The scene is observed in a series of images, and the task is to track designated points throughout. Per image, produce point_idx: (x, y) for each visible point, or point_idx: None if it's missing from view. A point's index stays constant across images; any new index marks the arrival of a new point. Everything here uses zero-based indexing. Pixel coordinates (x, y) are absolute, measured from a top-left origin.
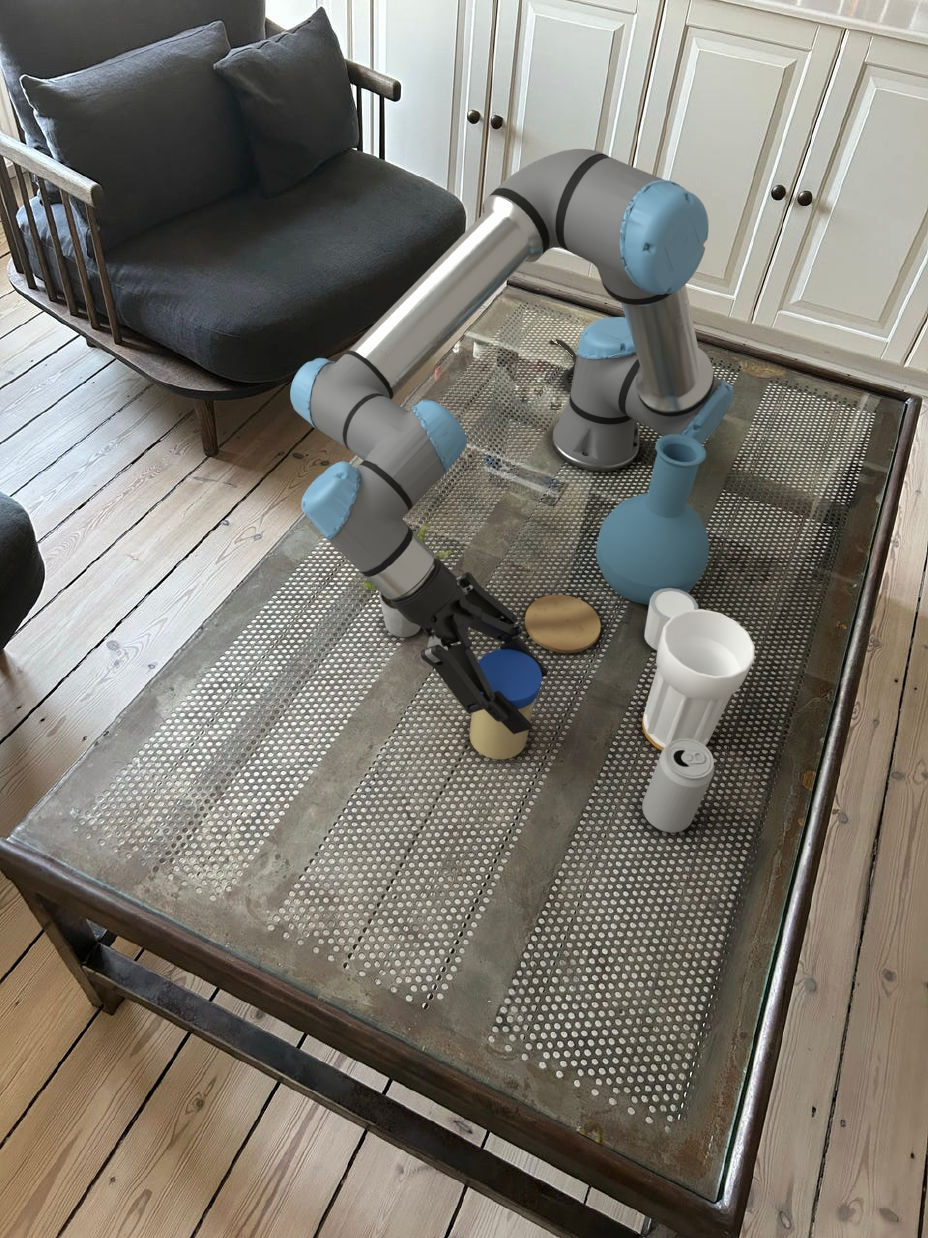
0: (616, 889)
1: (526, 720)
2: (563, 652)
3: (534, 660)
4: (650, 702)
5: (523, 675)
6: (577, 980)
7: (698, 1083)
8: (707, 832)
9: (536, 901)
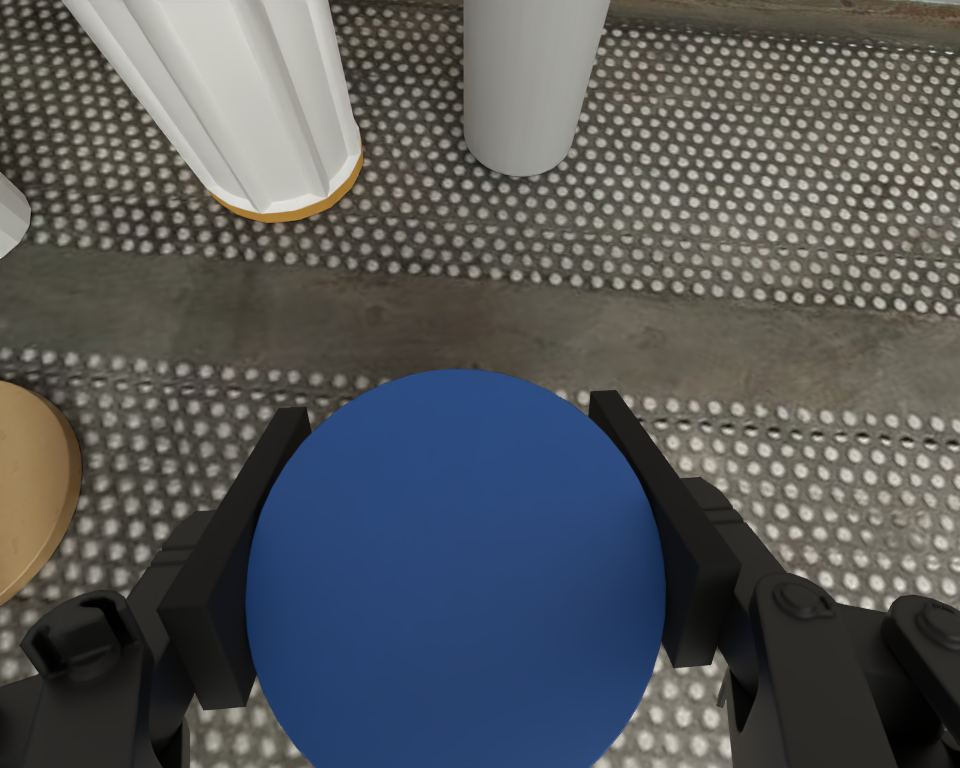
0: (730, 193)
1: (609, 408)
2: (79, 462)
3: (267, 465)
4: (249, 168)
5: (433, 474)
6: (938, 217)
7: (953, 43)
8: None
9: (848, 322)
